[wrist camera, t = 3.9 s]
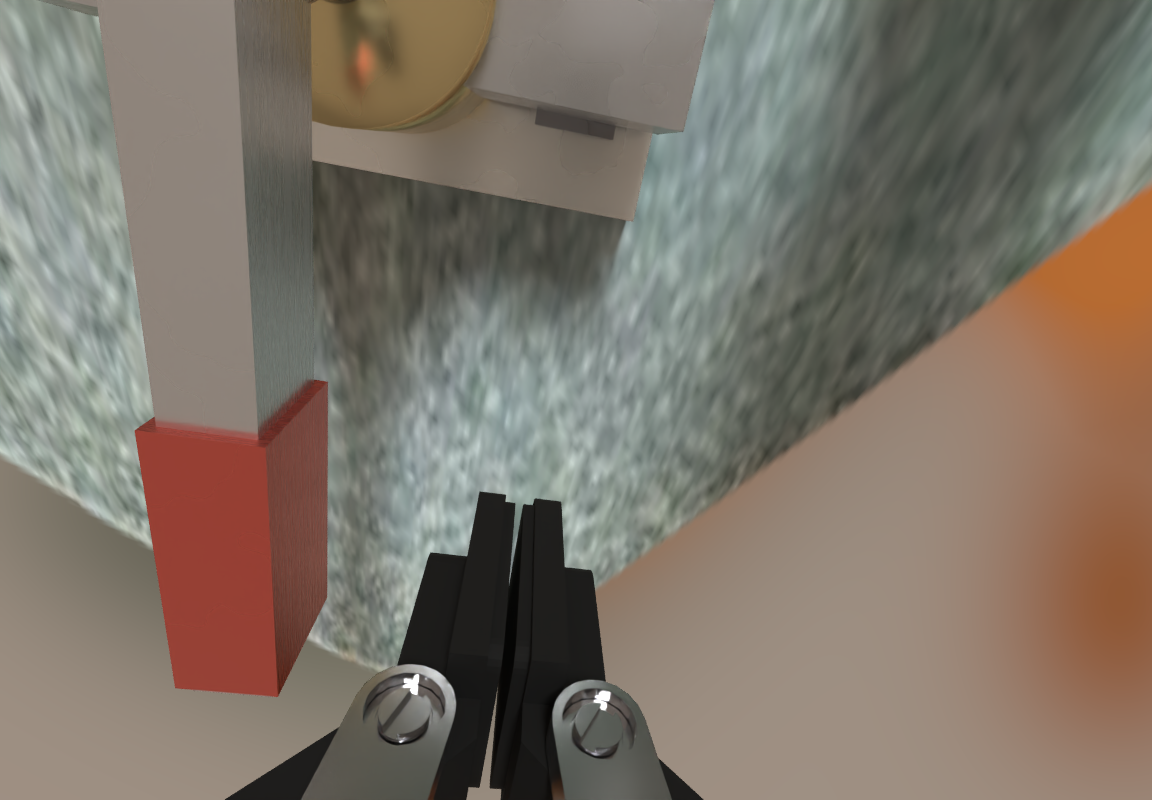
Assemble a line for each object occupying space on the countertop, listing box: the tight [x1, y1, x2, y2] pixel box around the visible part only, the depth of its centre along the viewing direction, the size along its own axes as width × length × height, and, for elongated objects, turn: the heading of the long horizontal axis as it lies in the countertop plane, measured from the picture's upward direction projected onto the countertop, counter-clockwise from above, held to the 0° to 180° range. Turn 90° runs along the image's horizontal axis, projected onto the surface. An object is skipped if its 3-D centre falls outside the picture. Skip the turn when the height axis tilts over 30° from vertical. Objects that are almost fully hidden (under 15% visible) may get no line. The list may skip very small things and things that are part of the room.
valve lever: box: [97, 0, 328, 697], centre depth 10 cm, size 16×3×3 cm, turn 169°
